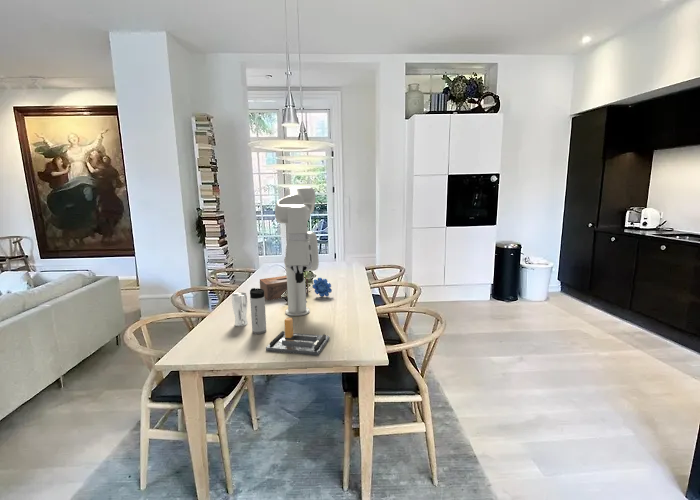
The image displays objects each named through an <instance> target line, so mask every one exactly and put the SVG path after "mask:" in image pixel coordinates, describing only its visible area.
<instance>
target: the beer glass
mask: <svg viewBox="0 0 700 500" xmlns="http://www.w3.org/2000/svg"><path fill="white" fill-rule="evenodd" d="M247 297H248V296H247V292H244V291H243V292H234V293H232V294H231V304H232V311H233V314H234V326H235V327H244V326H247V325H248V319H247V311H248V298H247Z"/></svg>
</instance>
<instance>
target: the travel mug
mask: <svg viewBox="0 0 700 500" xmlns="http://www.w3.org/2000/svg"><path fill="white" fill-rule="evenodd" d="M249 295H250V297H249V300H250V303H249V304H250V316H251V318H250V319H251V331H252V334H254V335H262V334H264V333H266V332H267V319H266V318H267V316H266V301H265V300H266V299H265V298H264V290H263V289H260V287H259V288H258V287H256V288H255V287H252V288H250V290H249Z"/></svg>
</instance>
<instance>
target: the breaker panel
mask: <svg viewBox="0 0 700 500" xmlns="http://www.w3.org/2000/svg"><path fill="white" fill-rule="evenodd" d="M293 335H294V340H286V339H284V338H285V333H284V334H283V335H282V336H281V337H280V338H279V339H278V340H277V341H276V342H275V343H274V344H273V345H272V346H270V343H268V345H266V347H265V351H266V352H277V353H285V354H287V353H288V354H295V355H297V354H298V355H306V356H308V355H310V356H320V354H321V352H322V351H323V349H324V347H325V346H326V344H327V343H328V342H329V340H330V335H326V337H325V339H324V340H323V341H322V343H321V344H320V346H319V347H318V348H317V349H316V350H315V349H314V347H315V345H316V344H317V343H318V341H319V340H320V338H321V337H322V336H323V335H324V334H323V335H322V334H311V333H310V334H309V333H301V332H300V333H299V332H293Z"/></svg>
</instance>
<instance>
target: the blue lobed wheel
mask: <svg viewBox="0 0 700 500" xmlns="http://www.w3.org/2000/svg"><path fill="white" fill-rule="evenodd" d="M311 286H312V289H314V293H315V294H316V295H319V296H320V297H321V298H323V297H329V295H330V293H332V292H333V291H332V284H331V283H330V282H328V279H327V278H322V277H317V279H314V280H313V284H312V285H311Z"/></svg>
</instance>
